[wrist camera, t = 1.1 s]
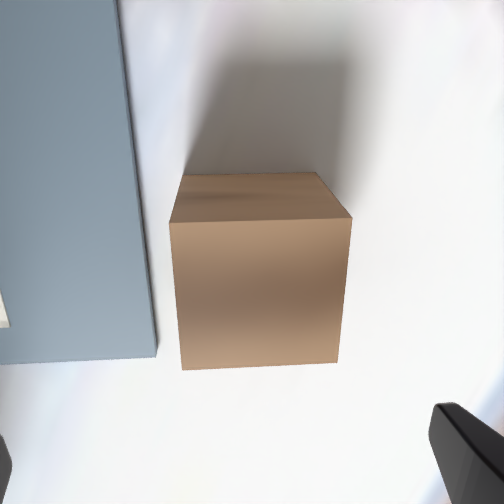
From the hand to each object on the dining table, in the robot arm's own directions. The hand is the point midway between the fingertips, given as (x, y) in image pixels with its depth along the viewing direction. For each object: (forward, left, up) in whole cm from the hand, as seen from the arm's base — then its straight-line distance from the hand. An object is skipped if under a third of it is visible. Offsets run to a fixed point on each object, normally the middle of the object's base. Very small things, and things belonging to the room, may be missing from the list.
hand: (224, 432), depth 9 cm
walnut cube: (-1, -1, -13) cm, 13 cm away
